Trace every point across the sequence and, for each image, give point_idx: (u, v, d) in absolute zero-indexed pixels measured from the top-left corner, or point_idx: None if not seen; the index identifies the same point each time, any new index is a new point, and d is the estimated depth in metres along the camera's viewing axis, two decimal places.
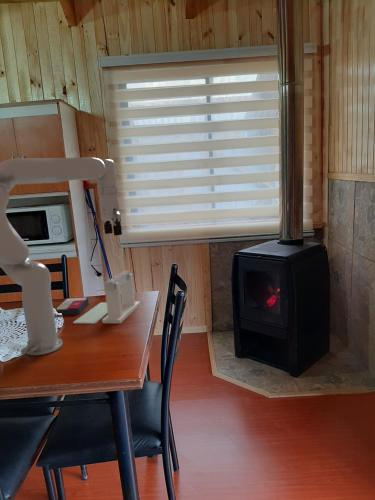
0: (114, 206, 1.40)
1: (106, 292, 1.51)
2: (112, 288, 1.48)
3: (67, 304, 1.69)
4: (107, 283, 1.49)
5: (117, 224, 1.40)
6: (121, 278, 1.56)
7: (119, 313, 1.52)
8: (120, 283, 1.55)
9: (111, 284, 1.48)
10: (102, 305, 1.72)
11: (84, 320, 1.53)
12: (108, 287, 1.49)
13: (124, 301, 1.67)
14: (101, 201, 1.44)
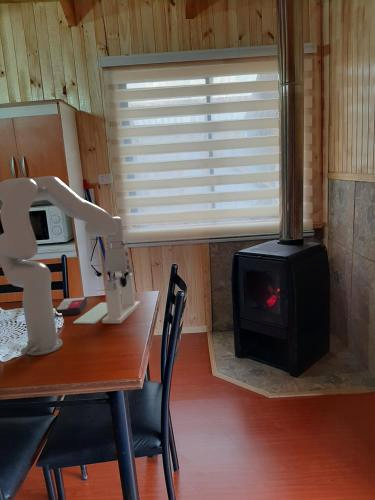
0: None
1: (106, 292, 1.51)
2: (112, 288, 1.48)
3: (66, 304, 1.69)
4: (107, 283, 1.49)
5: None
6: (121, 278, 1.56)
7: (119, 313, 1.52)
8: (120, 283, 1.55)
9: (111, 284, 1.48)
10: (102, 305, 1.72)
11: (84, 320, 1.53)
12: (108, 287, 1.49)
13: (124, 301, 1.67)
14: None
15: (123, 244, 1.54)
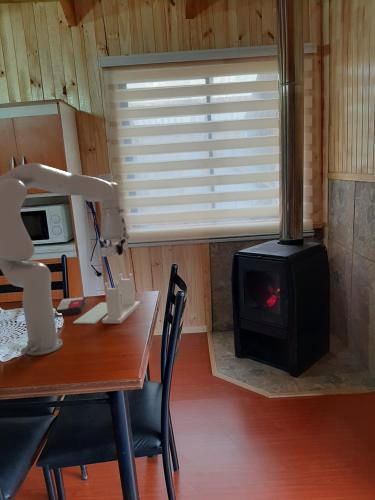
0: None
1: (106, 292, 1.51)
2: (108, 254, 1.46)
3: (66, 304, 1.69)
4: (102, 249, 1.46)
5: None
6: (117, 246, 1.54)
7: (119, 313, 1.52)
8: (116, 250, 1.53)
9: (107, 250, 1.46)
10: (102, 305, 1.72)
11: (84, 320, 1.53)
12: (104, 253, 1.46)
13: (124, 301, 1.67)
14: None
15: (119, 211, 1.51)
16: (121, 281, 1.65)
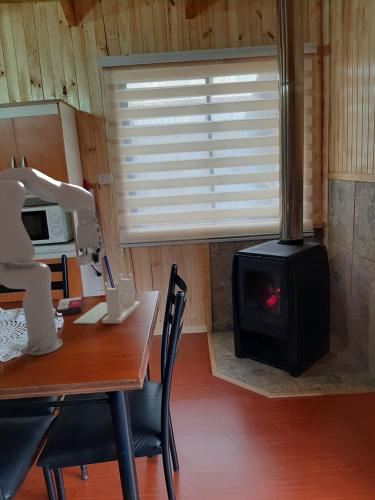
0: None
1: (106, 292, 1.51)
2: (83, 263, 1.50)
3: (66, 304, 1.69)
4: (77, 258, 1.50)
5: None
6: (93, 254, 1.57)
7: (119, 313, 1.52)
8: (92, 259, 1.56)
9: (82, 259, 1.49)
10: (102, 305, 1.72)
11: (84, 320, 1.53)
12: (79, 262, 1.50)
13: (124, 301, 1.67)
14: None
15: (94, 220, 1.55)
16: (121, 281, 1.65)
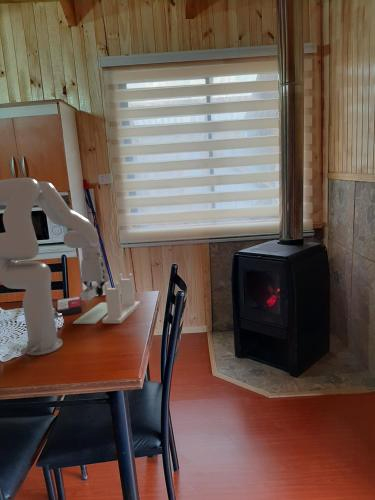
0: None
1: (106, 292, 1.51)
2: (87, 298, 1.52)
3: (65, 304, 1.69)
4: (82, 293, 1.52)
5: None
6: None
7: (119, 313, 1.52)
8: (96, 293, 1.59)
9: (86, 294, 1.52)
10: (102, 305, 1.72)
11: (84, 320, 1.53)
12: (83, 297, 1.53)
13: (124, 301, 1.67)
14: None
15: (98, 255, 1.57)
16: (121, 281, 1.65)
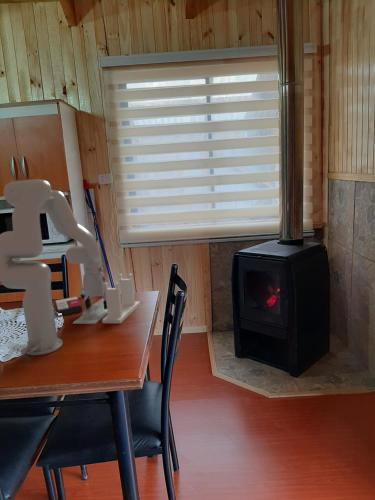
0: None
1: (106, 292, 1.51)
2: (89, 317, 1.53)
3: (64, 304, 1.69)
4: (84, 313, 1.54)
5: None
6: (99, 306, 1.61)
7: (119, 313, 1.52)
8: (98, 311, 1.60)
9: (88, 314, 1.53)
10: None
11: (84, 320, 1.53)
12: (85, 316, 1.54)
13: (124, 301, 1.67)
14: None
15: (100, 270, 1.58)
16: (121, 281, 1.65)
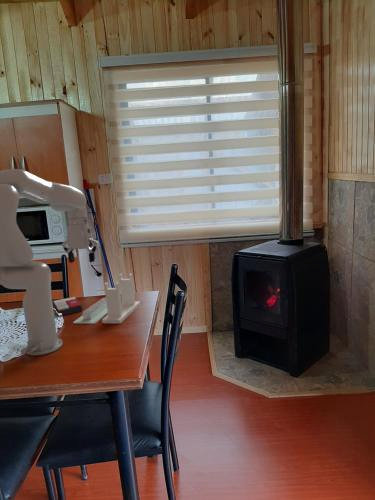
0: None
1: (106, 292, 1.51)
2: (89, 317, 1.53)
3: (64, 304, 1.69)
4: (84, 313, 1.54)
5: None
6: (99, 306, 1.61)
7: (119, 313, 1.52)
8: (98, 311, 1.60)
9: (88, 314, 1.53)
10: None
11: (84, 320, 1.53)
12: (85, 316, 1.54)
13: (124, 301, 1.67)
14: None
15: (85, 221, 1.51)
16: (121, 281, 1.65)
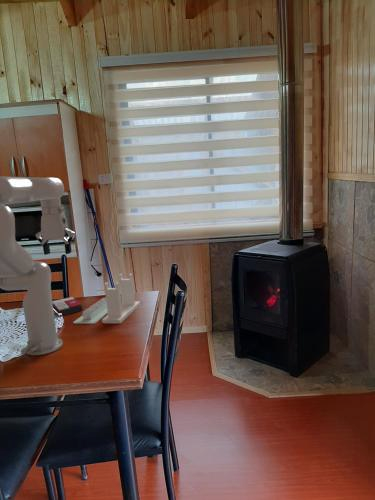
0: None
1: (106, 292, 1.51)
2: (89, 317, 1.53)
3: (63, 304, 1.69)
4: (84, 313, 1.54)
5: None
6: (99, 306, 1.61)
7: (119, 313, 1.52)
8: (98, 311, 1.60)
9: (88, 314, 1.53)
10: None
11: (84, 320, 1.53)
12: (85, 316, 1.54)
13: (124, 301, 1.67)
14: None
15: (60, 210, 1.42)
16: (121, 281, 1.65)
